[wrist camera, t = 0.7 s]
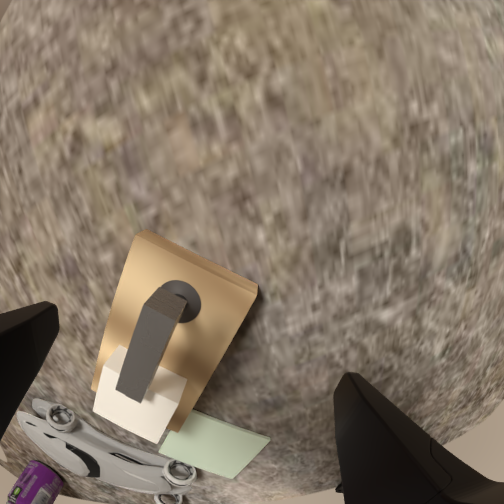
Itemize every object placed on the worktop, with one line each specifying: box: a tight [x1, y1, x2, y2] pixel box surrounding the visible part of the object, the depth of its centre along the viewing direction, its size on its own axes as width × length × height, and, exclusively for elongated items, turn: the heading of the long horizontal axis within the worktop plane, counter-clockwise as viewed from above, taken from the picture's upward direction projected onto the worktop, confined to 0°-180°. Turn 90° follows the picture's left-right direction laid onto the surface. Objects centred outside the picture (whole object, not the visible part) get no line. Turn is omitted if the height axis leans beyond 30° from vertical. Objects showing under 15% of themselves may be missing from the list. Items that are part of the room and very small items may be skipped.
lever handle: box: [115, 287, 187, 404], centre depth 17 cm, size 10×2×7 cm, turn 154°
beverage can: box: [6, 460, 63, 504], centre depth 27 cm, size 7×7×12 cm
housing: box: [91, 229, 258, 433], centre depth 23 cm, size 16×9×2 cm, turn 154°
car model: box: [17, 398, 197, 504], centre depth 27 cm, size 11×24×5 cm, turn 70°
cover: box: [93, 345, 187, 444], centre depth 21 cm, size 6×6×3 cm
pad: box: [159, 409, 270, 479], centre depth 27 cm, size 9×9×1 cm
